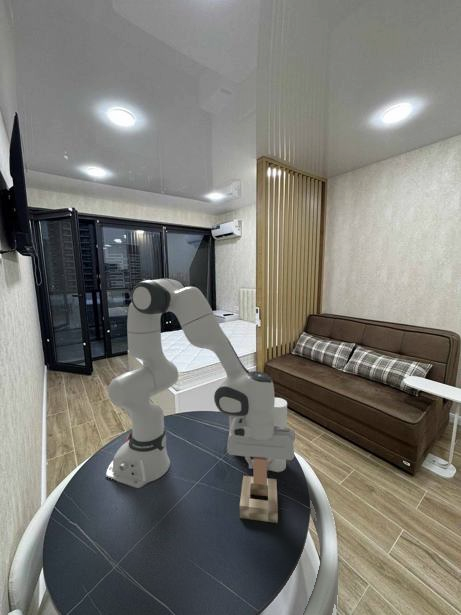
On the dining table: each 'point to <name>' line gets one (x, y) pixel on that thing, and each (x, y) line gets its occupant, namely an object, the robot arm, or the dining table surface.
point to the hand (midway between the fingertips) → (260, 468)
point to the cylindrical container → (280, 421)
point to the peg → (260, 470)
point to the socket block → (259, 507)
